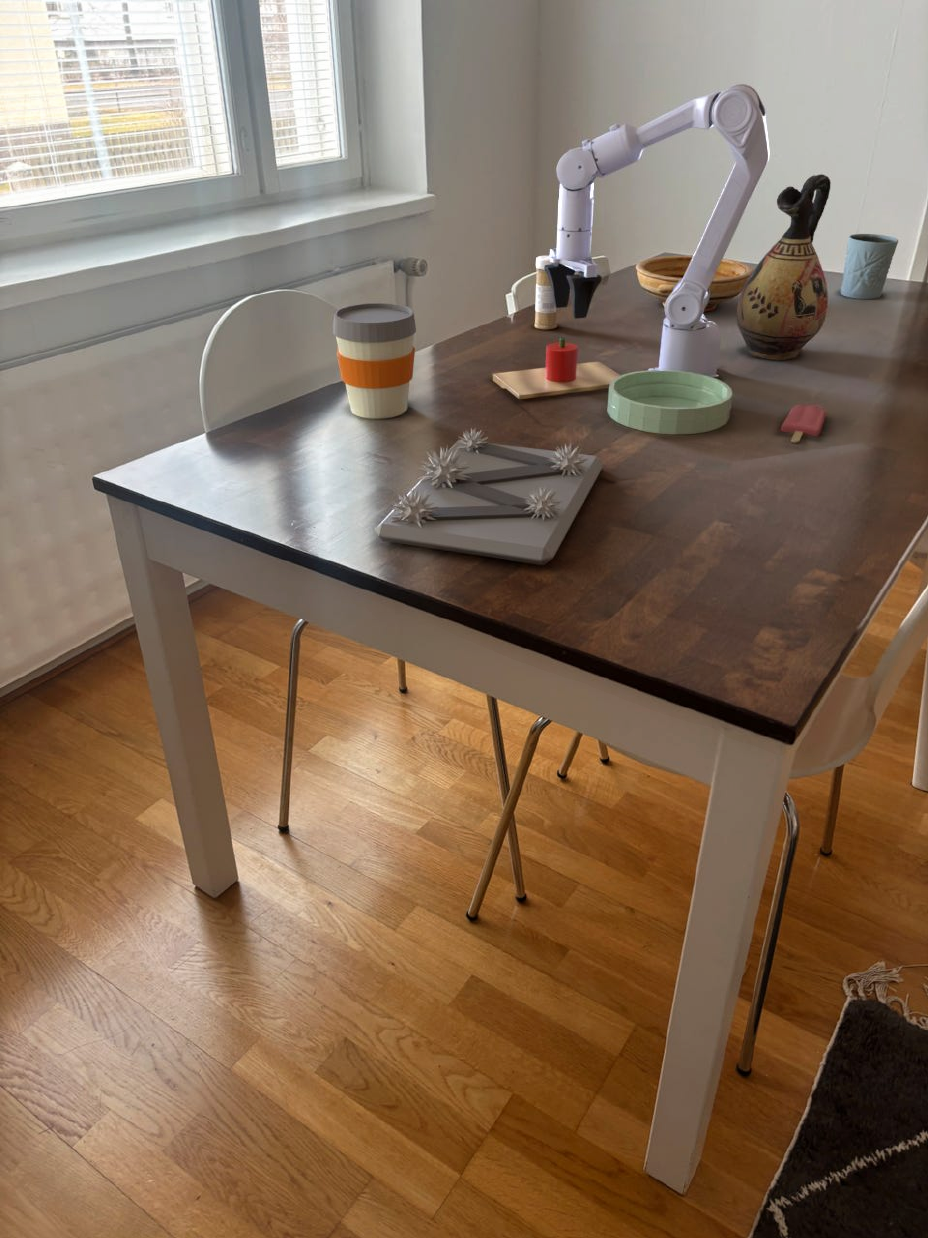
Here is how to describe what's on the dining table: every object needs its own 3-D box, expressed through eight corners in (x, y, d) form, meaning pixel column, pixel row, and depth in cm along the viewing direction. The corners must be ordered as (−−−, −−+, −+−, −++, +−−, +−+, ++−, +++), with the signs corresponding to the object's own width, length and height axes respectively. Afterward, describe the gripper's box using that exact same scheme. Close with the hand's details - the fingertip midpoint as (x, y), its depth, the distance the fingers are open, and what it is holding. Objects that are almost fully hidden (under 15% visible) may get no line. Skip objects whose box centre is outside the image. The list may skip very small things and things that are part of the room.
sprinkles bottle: (557, 324, 193) (561, 254, 186) (555, 330, 190) (558, 259, 182) (535, 323, 194) (537, 254, 187) (532, 329, 190) (534, 259, 183)
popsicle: (776, 433, 137) (793, 401, 148) (774, 444, 138) (791, 411, 149) (815, 439, 135) (829, 406, 146) (813, 449, 136) (827, 416, 147)
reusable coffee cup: (365, 391, 159) (359, 298, 151) (432, 402, 154) (430, 307, 146) (323, 415, 149) (315, 317, 141) (393, 427, 144) (389, 327, 136)
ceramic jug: (787, 371, 166) (820, 184, 151) (714, 352, 176) (738, 175, 160) (839, 352, 176) (875, 174, 160) (767, 335, 186) (794, 166, 170)
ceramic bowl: (657, 285, 222) (661, 249, 218) (762, 296, 212) (768, 258, 208) (611, 314, 200) (614, 274, 196) (726, 328, 190) (732, 287, 186)
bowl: (688, 391, 158) (691, 364, 155) (752, 429, 143) (756, 400, 140) (587, 404, 152) (589, 377, 150) (642, 445, 138) (645, 415, 135)
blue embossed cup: (834, 288, 218) (844, 232, 212) (880, 289, 217) (892, 233, 211) (842, 299, 210) (854, 241, 203) (890, 300, 208) (903, 242, 202)
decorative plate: (549, 573, 106) (552, 515, 102) (371, 545, 112) (367, 489, 108) (604, 470, 130) (608, 420, 126) (455, 452, 136) (454, 404, 132)
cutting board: (598, 367, 169) (598, 361, 168) (630, 388, 159) (630, 381, 159) (492, 380, 163) (492, 373, 163) (519, 402, 154) (519, 395, 153)
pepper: (568, 371, 163) (570, 332, 160) (581, 380, 159) (583, 340, 156) (540, 374, 162) (541, 335, 158) (552, 383, 158) (554, 343, 154)
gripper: (534, 222, 163) (532, 304, 170) (571, 237, 151) (567, 324, 158) (572, 220, 165) (568, 300, 172) (611, 234, 153) (605, 320, 160)
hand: (570, 312), depth 165 cm, fingers open, 7 cm apart
